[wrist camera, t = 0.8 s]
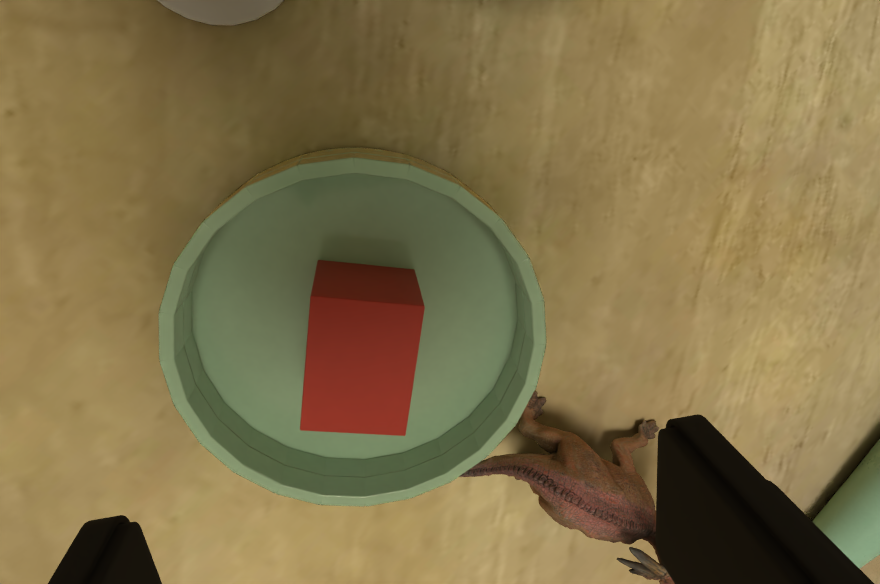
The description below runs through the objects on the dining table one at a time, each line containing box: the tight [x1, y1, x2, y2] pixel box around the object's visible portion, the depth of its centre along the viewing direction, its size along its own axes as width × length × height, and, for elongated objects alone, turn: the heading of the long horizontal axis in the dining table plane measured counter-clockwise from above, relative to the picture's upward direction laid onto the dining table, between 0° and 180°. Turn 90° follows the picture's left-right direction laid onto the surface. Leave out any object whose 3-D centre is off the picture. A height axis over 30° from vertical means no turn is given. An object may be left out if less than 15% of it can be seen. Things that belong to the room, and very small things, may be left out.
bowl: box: [159, 147, 546, 506], centre depth 27 cm, size 16×16×4 cm
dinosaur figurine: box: [459, 392, 675, 584], centre depth 29 cm, size 14×6×9 cm, turn 67°
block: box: [300, 260, 425, 436], centre depth 26 cm, size 6×4×4 cm
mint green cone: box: [812, 439, 880, 569], centre depth 35 cm, size 5×6×27 cm
